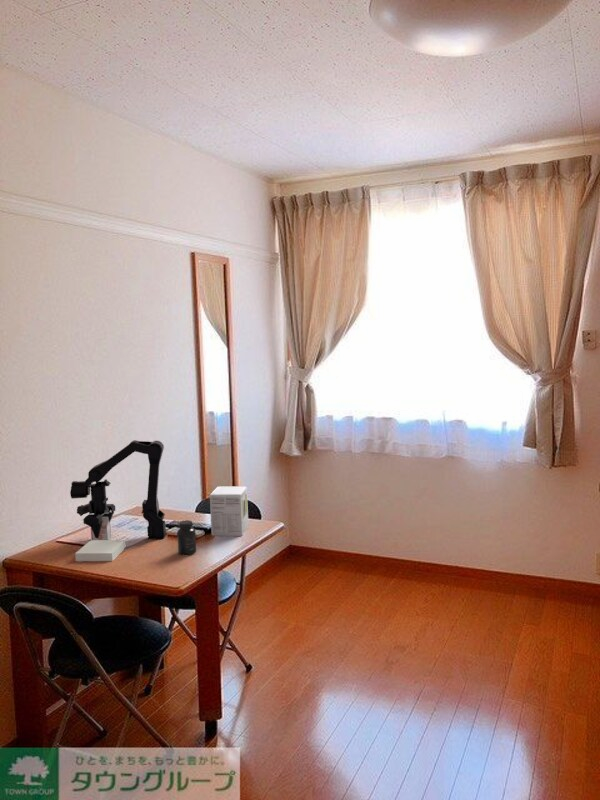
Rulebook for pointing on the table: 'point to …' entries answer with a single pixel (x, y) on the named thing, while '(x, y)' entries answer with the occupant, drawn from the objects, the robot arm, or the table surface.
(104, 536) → the white paper carton
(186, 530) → the supplement bottle
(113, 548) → the plinth
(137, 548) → the table surface
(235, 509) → the supplement box
